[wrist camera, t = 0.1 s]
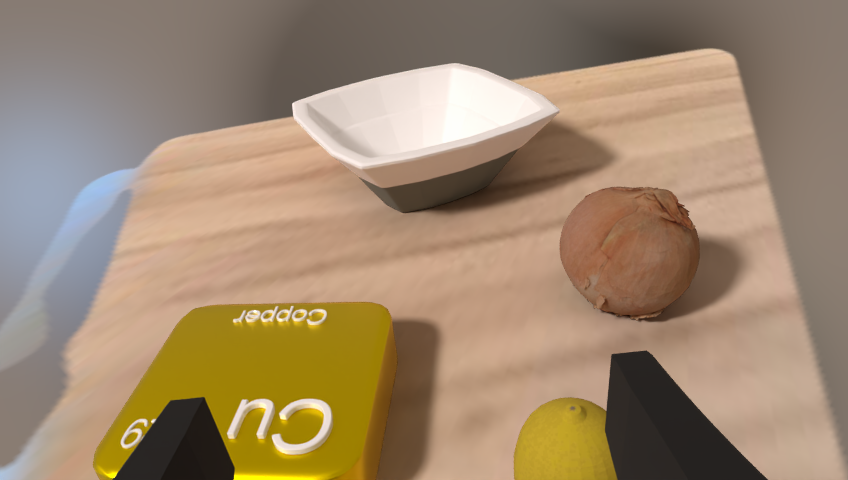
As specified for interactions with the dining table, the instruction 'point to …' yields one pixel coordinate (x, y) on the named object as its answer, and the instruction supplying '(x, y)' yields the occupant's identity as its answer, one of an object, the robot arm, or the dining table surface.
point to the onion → (630, 250)
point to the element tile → (274, 388)
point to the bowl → (425, 130)
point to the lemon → (564, 443)
